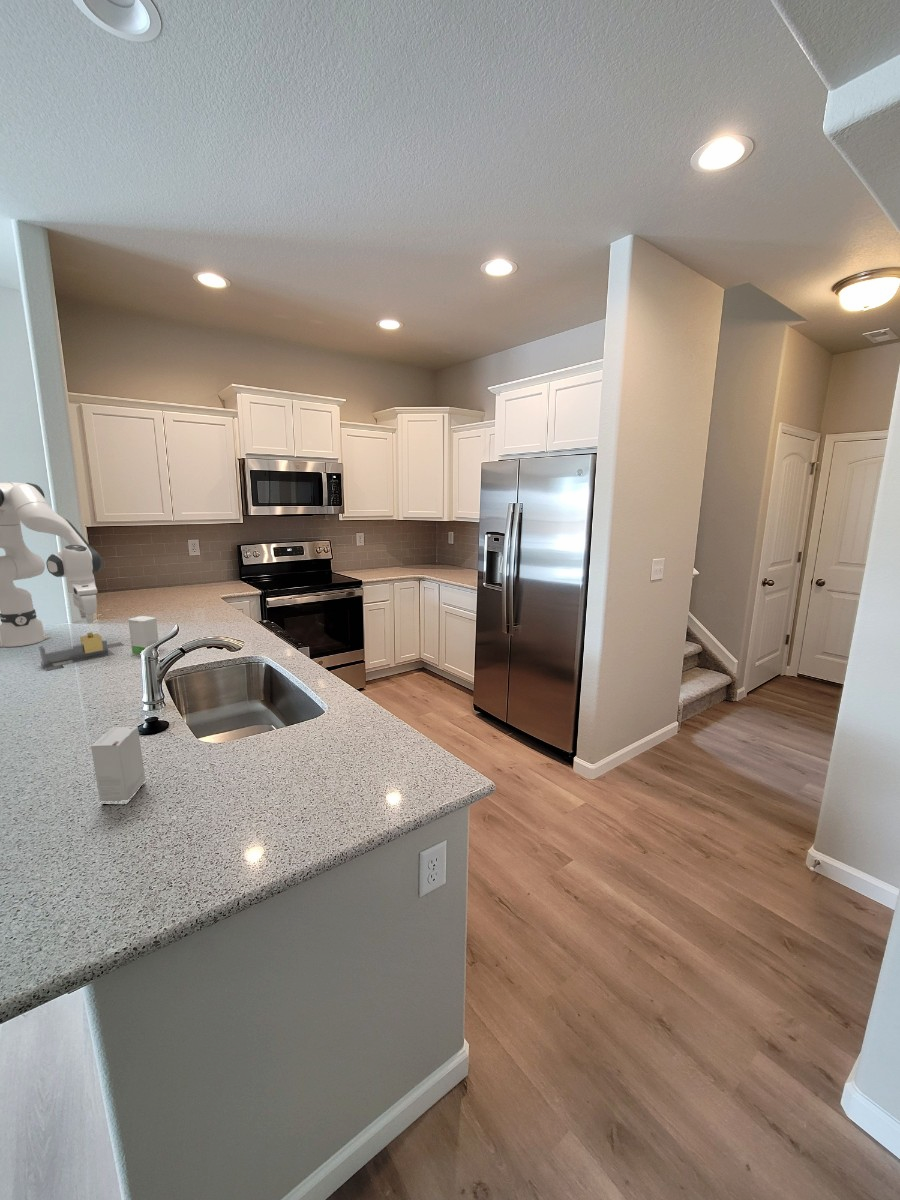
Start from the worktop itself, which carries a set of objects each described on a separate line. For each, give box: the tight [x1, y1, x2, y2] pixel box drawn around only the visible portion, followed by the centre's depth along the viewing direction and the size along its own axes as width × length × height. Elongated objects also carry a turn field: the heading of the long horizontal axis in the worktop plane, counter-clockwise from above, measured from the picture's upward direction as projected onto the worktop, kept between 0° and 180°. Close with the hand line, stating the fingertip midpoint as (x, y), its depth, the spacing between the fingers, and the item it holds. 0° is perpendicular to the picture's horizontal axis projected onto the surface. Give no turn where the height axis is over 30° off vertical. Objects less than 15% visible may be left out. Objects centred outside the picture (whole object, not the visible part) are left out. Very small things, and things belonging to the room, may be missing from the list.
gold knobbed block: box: [79, 632, 103, 654], centre depth 197 cm, size 5×6×7 cm
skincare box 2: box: [127, 615, 159, 657], centre depth 201 cm, size 8×7×16 cm
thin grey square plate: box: [107, 642, 125, 649], centre depth 211 cm, size 6×7×1 cm
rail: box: [38, 640, 115, 672], centre depth 194 cm, size 10×22×8 cm, turn 138°
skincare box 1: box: [90, 726, 146, 803], centre depth 108 cm, size 8×6×15 cm
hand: (87, 620), depth 195 cm, fingers open, 8 cm apart
